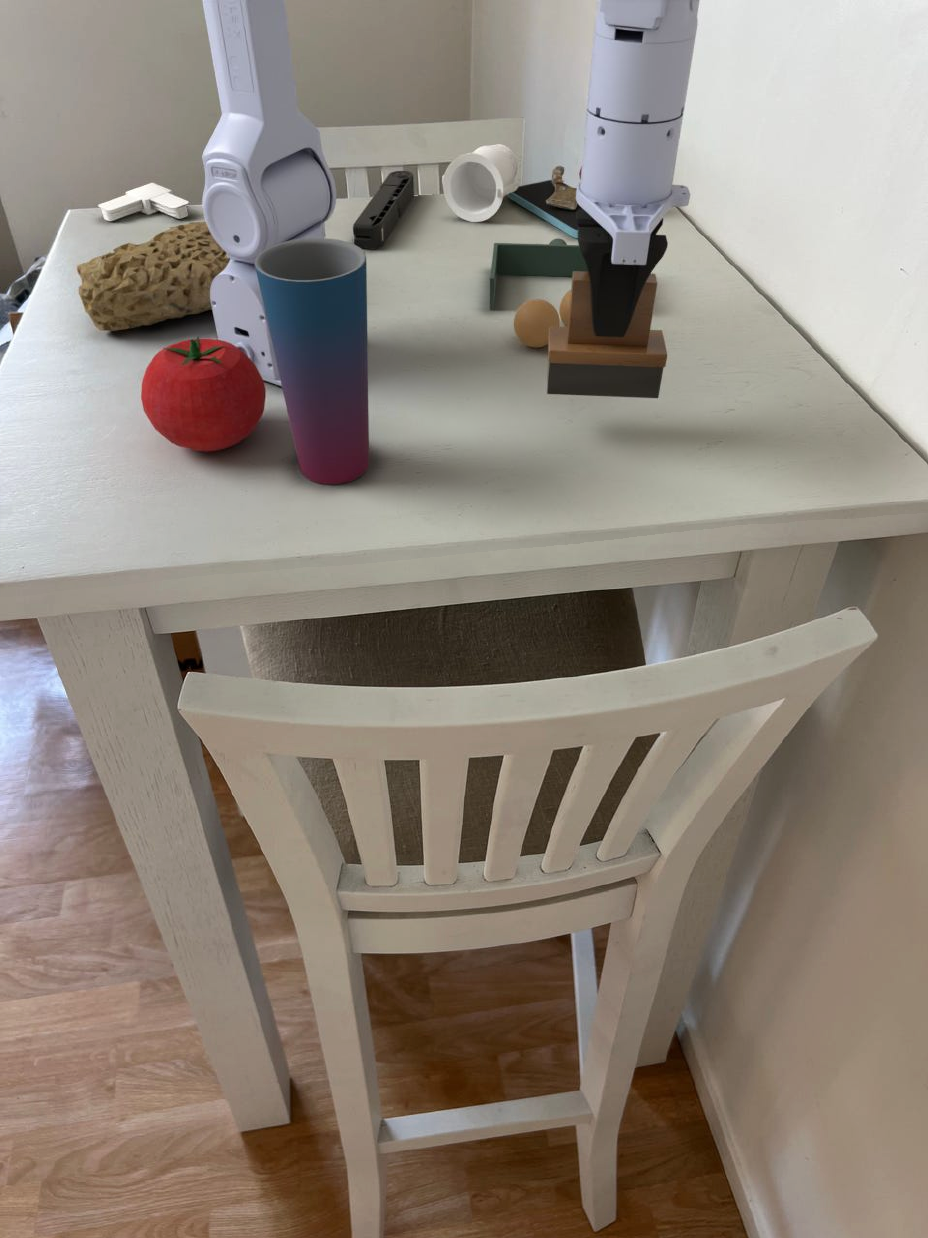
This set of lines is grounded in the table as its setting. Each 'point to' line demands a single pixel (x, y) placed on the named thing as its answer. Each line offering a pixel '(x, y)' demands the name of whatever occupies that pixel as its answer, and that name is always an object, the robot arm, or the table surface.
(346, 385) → the cup
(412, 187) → the tablet stand
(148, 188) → the corner connector
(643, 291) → the brush
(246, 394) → the tomato
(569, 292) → the ball
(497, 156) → the downlight
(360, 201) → the table surface
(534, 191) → the smartphone
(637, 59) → the robot arm
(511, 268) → the green u-shaped pusher
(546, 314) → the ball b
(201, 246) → the sponge
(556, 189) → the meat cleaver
